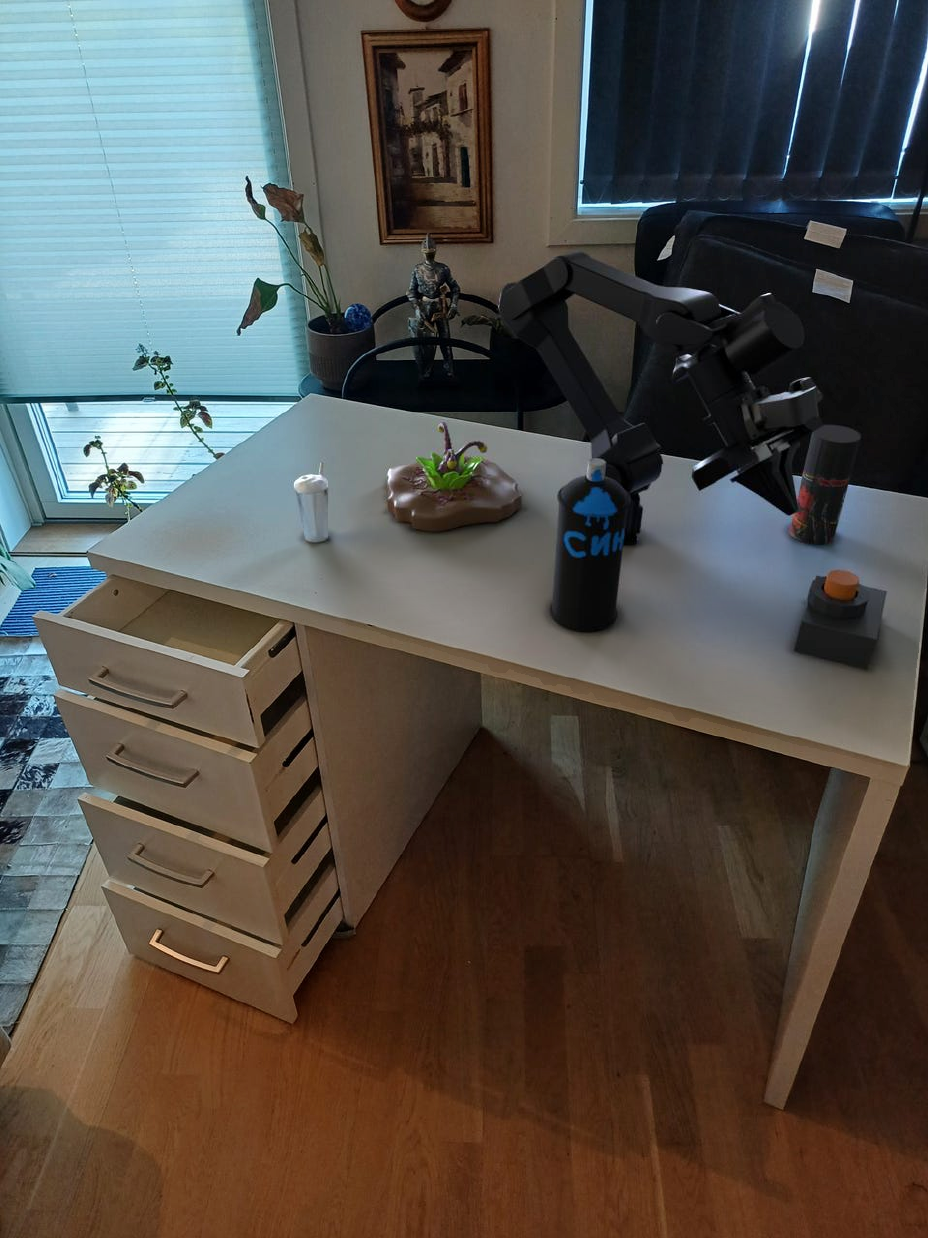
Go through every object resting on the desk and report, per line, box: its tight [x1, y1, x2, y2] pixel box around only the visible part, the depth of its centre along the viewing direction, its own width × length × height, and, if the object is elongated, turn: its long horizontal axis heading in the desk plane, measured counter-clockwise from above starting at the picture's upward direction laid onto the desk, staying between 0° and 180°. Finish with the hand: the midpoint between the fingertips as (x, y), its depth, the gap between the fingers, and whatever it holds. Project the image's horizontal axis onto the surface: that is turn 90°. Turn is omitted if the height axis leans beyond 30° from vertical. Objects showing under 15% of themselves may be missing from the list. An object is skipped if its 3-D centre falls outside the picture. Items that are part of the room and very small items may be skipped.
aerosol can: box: [549, 458, 631, 633], centre depth 104 cm, size 8×8×20 cm
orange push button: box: [824, 569, 860, 600], centre depth 102 cm, size 3×3×2 cm
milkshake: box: [293, 462, 329, 544], centre depth 123 cm, size 4×5×10 cm
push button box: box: [793, 575, 888, 671], centre depth 104 cm, size 11×8×6 cm
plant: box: [386, 421, 522, 533], centre depth 132 cm, size 20×20×11 cm
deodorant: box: [789, 424, 862, 546], centre depth 122 cm, size 6×6×15 cm
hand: (793, 513), depth 103 cm, fingers closed
